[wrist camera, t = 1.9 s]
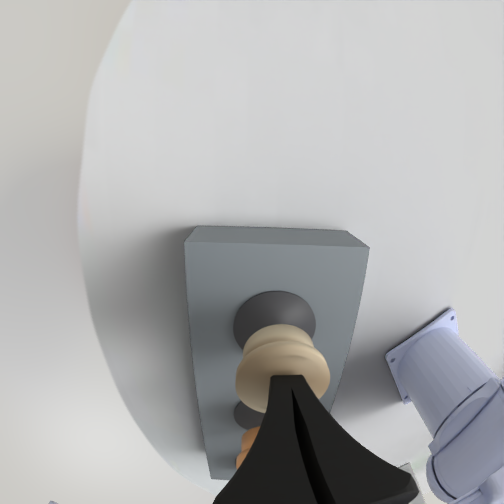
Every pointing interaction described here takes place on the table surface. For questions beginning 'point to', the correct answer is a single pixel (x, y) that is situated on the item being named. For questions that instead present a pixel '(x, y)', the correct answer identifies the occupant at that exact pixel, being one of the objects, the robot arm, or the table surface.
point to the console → (264, 313)
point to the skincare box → (419, 500)
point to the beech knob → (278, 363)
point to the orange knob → (246, 444)
